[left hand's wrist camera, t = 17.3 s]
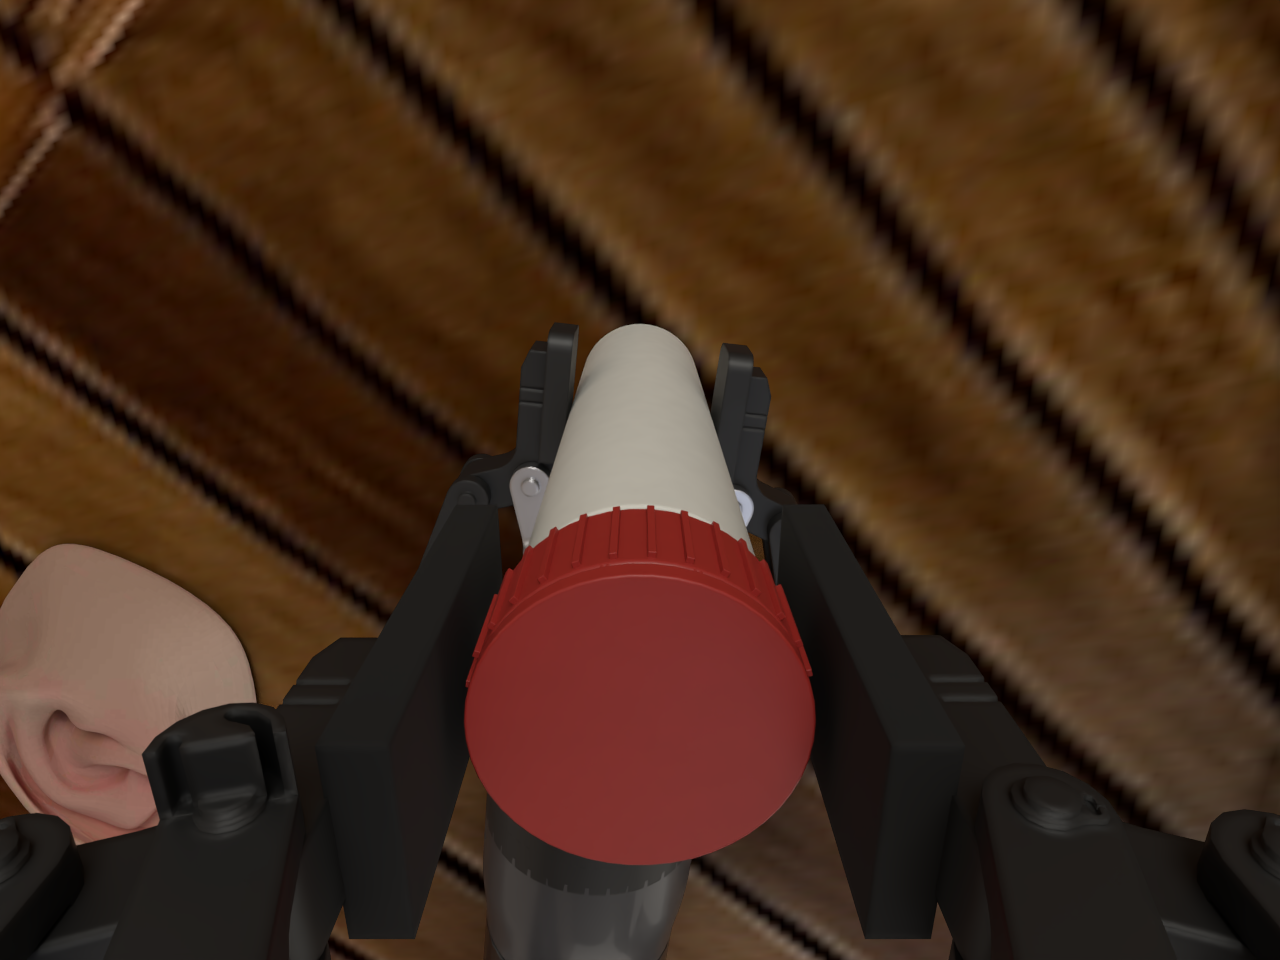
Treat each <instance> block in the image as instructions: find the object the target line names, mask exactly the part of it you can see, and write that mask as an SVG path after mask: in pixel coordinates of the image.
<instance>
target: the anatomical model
mask: <svg viewBox="0 0 1280 960" xmlns="http://www.w3.org/2000/svg"><path fill="white" fill-rule="evenodd" d="M251 702H254V703H257V701H256V695H255V688H254V683H253V678H252V674H251V670H250V665H249V662H248V659H247V657H246V654H245V651H244V649H243V647H242V644H241V643H240V641H239V639H238V637H237V636H236V634H235V633H234V632H233V630H232V629H231V627H230V626H229V625H228V624H227V623H226V622H225V621H224V620H223V619H222V618H221V616H220V615H218V614H217V613H216V612H215V611H214V610H213V609H211V608H210V607H209V606H208V605H207V604H205V603H204V602H202V601H201V600H200V599H198V598H197V597H195V596H194V595H193V594H191V593H190V592H188V591H186V590H185V589H183V588H181V587H180V586H178V585H176V584H175V583H173V582H171V581H170V580H168V579H166V578H164V577H162V576H160V575H158V574H156V573H154V572H152V571H150V570H148V569H146V568H144V567H141V566H139V565H137V564H135V563H132V562H130V561H128V560H126V559H123V558H121V557H118V556H116V555H113V554H110V553H107V552H105V551H102V550H99V549H96V548H93V547H89V546H84V545H78V544H61V545H56V546H53V547H51V548H49V549H47V550H46V551H44V552H43V553H41V554H40V555H39V556H38V557H37V558H36V559H35V560H34V561H33V562H32V563H31V564H30V565H29V566H28V567H27V568H26V570H25V571H24V573H23V574H22V575H21V577H20V578H19V580H18V581H17V583H16V584H15V585H14V587H13V588H12V590H11V591H10V592H9V594H8V595H7V597H6V599H5V600H4V603H3V605H2V607H1V609H0V774H1V776H2V777H3V778H4V780H5V781H6V783H7V784H8V786H9V787H10V788H11V790H12V791H13V792H14V794H15V795H16V796H17V798H18V799H19V800H20V802H21V803H22V804H23V805H24V807H25V808H26V809H27V810H28V811H29V812H30V813H42V814H49V815H55V816H59V817H60V818H61V819H62V820H63V821H64V822H66V823H67V824H68V825H69V826H70V828H71V831H72V834H73V837H74V840H75V843H76V845H80V844H84V843H88V842H93V841H97V840H101V839H106V838H110V837H114V836H119V835H123V834H127V833H132V832H136V831H140V830H143V829H147V828H150V827H153V826H157V825H158V823H159V820H160V819H159V816H158V812H157V808H156V805H155V801H154V798H153V794H152V790H151V787H150V783H149V780H148V776H147V772H146V769H145V765H144V762H143V758H142V753H143V752H144V751H145V749H146V748H147V747H148V745H149V744H150V743H151V742H152V740H153V739H154V738H155V737H156V736H157V735H159V734H160V733H161V732H163V731H164V730H166V729H167V728H168V727H170V726H171V725H173V724H174V723H175V722H177V721H179V720H181V719H184V718H186V717H188V716H190V715H193V714H195V713H197V712H199V711H201V710H205V709H209V708H213V707H217V706H221V705H225V704H229V703H251Z"/></svg>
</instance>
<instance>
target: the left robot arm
mask: <svg viewBox="0 0 1280 960" xmlns="http://www.w3.org/2000/svg"><path fill="white" fill-rule="evenodd" d="M502 582H503V578H502V564H501V550H500V535H499V521H498V506H497V505H455V507H454V509H453V510H452V512H451V514H450V516H449V517H448V519H447V521H446V522H445V524H444V526H443V528H442V529H441V531H440V533H439V534H438V536H437V538H436V540H435V541H434V543H433V545H432V546H431V548H430V550H429V551H428V553H427V555H426V557H425V558H424V560H423V562H422V563H421V565H420V567H419V569H418V570H417V572H416V574H415V575H414V577H413V579H412V581H411V582H410V584H409V586H408V587H407V589H406V591H405V593H404V594H403V596H402V598H401V599H400V601H399V603H398V604H397V606H396V608H395V610H394V611H393V613H392V615H391V616H390V618H389V620H388V622H387V623H386V625H385V627H384V628H383V630H382V632H381V634H380V635H379V637H378V638H339V639H338V640H336V641H335V642H334V643H332V644H331V645H329V646H328V647H327V648H325V649H324V650H322V651H321V652H320V653H318V654H317V655H315V656H314V657H313V658H312V659H311V660H310V662H309V663H308V665H307V666H306V668H305V669H304V670H303V672H302V673H301V675H300V676H299V678H298V679H297V683H296V685H293V686H292V688H291V689H290V690H289V692H288V693H287V695H286V696H285V698H284V699H283V704H282V705H279V706H278V708H277V709H275V708H273V707H271V706H267V705H262V704H258V703H254V702H251V703H229V704H225V705H221V706H217V707H213V708H209V709H205V710H201V711H199V712H197V713H195V714H193V715H190V716H188V717H186V718H184V719H181V720H179V721H177V722H175V723H174V724H173V725H171V726H170V727H168V728H167V729H166V730H164V731H163V732H161V733H160V734H159V735H157V736H156V737H155V738H154V739H153V740H152V742H151V743H150V744H149V745H148V747H147V748H146V749H145V751H144V752H143V753H142V758H143V762H144V765H145V769H146V772H147V776H148V780H149V783H150V787H151V790H152V794H153V798H154V801H155V805H156V808H157V812H158V816H159V819H160V820H159V823H158V825H157V826H153V827H150V828H147V829H143V830H140V831H136V832H132V833H127V834H123V835H119V836H114V837H110V838H106V839H101V840H97V841H93V842H88V843H84V844H80V845H76V843H75V840H74V837H73V834H72V831H71V828H70V826H69V825H68V824H67V823H66V822H64V821H63V820H62V819H61V818H60V817H59V816H55V815H49V814H42V813H31V814H24V815H17V816H10V817H6V818H3V819H0V960H331V956H330V950H329V945H328V939H329V937H330V934H331V932H332V929H333V927H334V925H335V922H336V920H337V917H338V915H339V913H340V910H341V908H342V905H343V907H344V912H345V918H346V924H347V929H348V935H349V939H415V937H416V933H417V930H418V927H419V923H420V920H421V917H422V913H423V910H424V907H425V903H426V900H427V897H428V893H429V890H430V887H431V883H432V880H433V877H434V873H435V870H436V867H437V863H438V860H439V857H440V853H441V850H442V847H443V843H444V840H445V837H446V833H447V830H448V827H449V823H450V820H451V817H452V813H453V810H454V807H455V803H456V800H457V797H458V793H459V790H460V787H461V784H462V780H463V777H464V774H465V770H466V767H467V764H468V760H469V757H470V755H469V751H468V747H467V743H466V739H465V728H464V709H465V699H466V695H467V690H468V687H466V680H467V677H468V674H469V671H470V668H471V666H472V663H473V660H474V657H472V655H473V652H474V649H475V646H476V644H477V641H478V638H479V635H480V632H481V630H482V627H483V624H484V621H485V619H486V616H487V613H488V610H489V608H490V605H491V602H492V599H493V597H494V594H497V595H498V593H499V590H500V587H501V584H502ZM779 584H781V586H782V588H783V590H784V593H785V595H786V598H787V601H788V604H789V607H790V609H791V612H792V615H793V618H794V620H795V623H796V626H797V629H798V632H799V634H800V637H801V640H802V643H803V647H804V650H805V652H806V655H807V658H808V661H809V664H810V666H811V669H812V674H813V676H809V680H810V683H811V687H812V691H813V696H814V700H815V713H816V726H815V736H814V742H813V746H812V750H811V754H810V757H811V760H812V764H813V767H814V770H815V774H816V777H817V780H818V784H819V787H820V790H821V794H822V797H823V800H824V803H825V807H826V810H827V813H828V817H829V820H830V823H831V827H832V830H833V833H834V837H835V840H836V843H837V847H838V850H839V853H840V857H841V860H842V863H843V867H844V870H845V873H846V877H847V880H848V883H849V887H850V890H851V893H852V897H853V900H854V903H855V907H856V910H857V913H858V917H859V920H860V923H861V927H862V930H863V933H864V937H865V939H931V935H932V929H933V923H934V918H935V912H936V907H937V902H938V904H939V906H940V909H941V911H942V914H943V916H944V918H945V921H946V923H947V925H948V928H949V930H950V933H951V935H952V937H953V940H952V945H951V950H950V956H949V960H1280V816H1279V815H1276V814H1273V813H1266V812H1260V811H1253V810H1246V809H1244V810H1237V811H1230V812H1224V813H1222V814H1221V815H1220V816H1219V817H1217V818H1216V819H1215V820H1214V821H1213V822H1212V823H1211V825H1210V828H1209V831H1208V834H1207V837H1206V840H1205V842H1202V841H1198V840H1193V839H1189V838H1184V837H1180V836H1176V835H1171V834H1167V833H1163V832H1158V831H1154V830H1150V829H1145V828H1141V827H1138V826H1135V825H1131V824H1128V823H1125V822H1122V821H1121V819H1120V818H1119V816H1118V815H1117V813H1116V812H1115V810H1114V809H1113V807H1112V806H1111V804H1110V803H1109V801H1108V800H1107V799H1106V798H1104V797H1103V796H1102V795H1101V794H1099V793H1098V792H1097V791H1096V790H1095V789H1093V788H1092V787H1091V786H1090V785H1088V784H1087V783H1085V782H1083V781H1081V780H1079V779H1077V778H1075V777H1073V776H1071V775H1069V774H1067V773H1065V772H1063V771H1060V770H1056V769H1053V768H1049V767H1046V765H1045V764H1044V762H1043V761H1042V760H1041V758H1040V757H1039V755H1038V754H1037V752H1036V751H1035V750H1034V748H1033V747H1032V745H1031V744H1030V742H1029V741H1028V740H1027V738H1026V737H1025V735H1024V734H1023V733H1022V731H1021V730H1020V728H1019V727H1018V725H1017V724H1016V723H1015V721H1014V720H1013V718H1012V717H1011V716H1010V714H1009V713H1008V711H1007V710H1006V708H1005V707H1004V706H1003V704H1002V703H1001V702H998V700H997V696H996V694H995V693H994V691H993V690H992V689H991V687H990V686H989V684H988V683H987V682H984V677H983V676H982V674H981V673H980V672H979V670H978V669H977V667H976V666H975V664H974V663H973V662H972V660H971V659H970V657H969V656H968V655H967V654H966V653H964V652H963V651H962V650H960V649H959V648H957V647H956V646H954V645H953V644H952V643H950V642H949V641H947V640H946V639H945V638H943V637H942V636H940V635H900V634H899V632H898V630H897V628H896V627H895V625H894V623H893V622H892V620H891V618H890V616H889V615H888V613H887V611H886V610H885V608H884V606H883V605H882V603H881V601H880V599H879V598H878V596H877V594H876V593H875V591H874V589H873V587H872V586H871V584H870V582H869V581H868V579H867V577H866V575H865V574H864V572H863V570H862V569H861V567H860V565H859V563H858V562H857V560H856V558H855V557H854V555H853V553H852V551H851V550H850V548H849V546H848V545H847V543H846V541H845V540H844V538H843V536H842V534H841V533H840V531H839V529H838V528H837V526H836V524H835V522H834V521H833V519H832V517H831V516H830V514H829V512H828V510H827V509H826V507H825V505H783V506H782V521H781V535H780V549H779V564H778V578H777V585H779Z"/></svg>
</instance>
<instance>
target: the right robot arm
mask: <svg viewBox="0 0 1280 960" xmlns="http://www.w3.org/2000/svg"><path fill="white" fill-rule="evenodd" d="M578 332H579V325H573V324H564V323H556V322H555V323H554V324H553V326H552V327H551V329H550V331H549V336H548V342H543V341H536V342H535V343H534V345H533V346H532V348H531V349H530V351H529V353H528V355H527V357H526V359H525V361H524V363H523V365H522V367H521V381H520V396H519V412H518V428H517V443H516V448H515V449H513V450H512V451H510V452H508V453H505V454H500V455H496V456H490V455H487V454H476V455H474V456H472V457H470V458H469V459H468V461H467V462H466V463H465V465H464V467H463V469H462V471H461V474H460V476H459V477H458V479H456V480H455V481H454V482H453V484H452V485H451V487H450V489H449V490H448V492H447V495H446V498H445V500H444V503H443V505H442V508H441V511H440V513H439V516H438V519H437V521H436V524H435V527H434V529H433V532H432V535H431V537H430V540H429V542H428V545H427V548H426V550H425V553H424V556H423V558H422V561H421V563H422V562H423V560H424V558H425V557H426V555H427V553H428V551H429V550H430V548H431V546H432V545H433V543H434V541H435V540H436V538H437V536H438V534H439V533H440V531H441V529H442V528H443V526H444V524H445V522H446V521H447V519H448V517H449V516H450V514H451V512H452V510H453V509H454V507H455V505H497V506H498V508H503V507H507V506H512V505H514V508H515V512H516V516H517V520H518V524H519V528H520V532H521V536H522V540H523V554H524V551H525V549H526V548H527V547H528V544H529V541H530V538H531V534H532V531H533V528H534V525H535V522H536V519H537V515H538V512H539V509H540V506H541V503H542V500H543V496H544V493H545V490H546V487H547V484H548V480H549V477H550V474H551V471H552V468H553V465H554V461H555V458H556V455H557V452H558V449H559V446H560V442H561V439H562V436H563V433H564V430H565V426H566V423H567V420H568V417H569V414H570V411H571V407H572V401H573V390H574V379H575V367H576V356H577V345H578ZM770 400H771V394H770V389H769V385H768V380H767V377H766V376H765V374H764V373H763V371H762V370H761V369H760V367H753V354H752V353H751V351H750V350H749V348H748V347H747V346H745V345H736V344H728V343H723V344H722V347H721V351H720V356H719V363H718V369H717V376H716V382H715V388H714V395H713V401H712V408H711V418H712V421H713V424H714V427H715V430H716V434H717V437H718V440H719V443H720V446H721V449H722V453H723V456H724V459H725V462H726V465H727V468H728V472H729V475H730V478H731V481H732V484H733V488H734V491H735V494H736V497H737V500H738V503H739V507H740V510H741V513H742V516H743V519H744V523H745V526H746V529H747V532H749V533H751V534H753V535H755V536H757V537H760V538H762V542H763V550H764V557H765V561H766V562H767V563H768V566H769V569H770V572H771V575H772V578H773V581H774V584H775V585H776V586H777V578H778V564H779V549H780V535H781V521H782V506H783V505H797V503H796V501H795V499H794V497H793V495H792V494H791V493H790V492H789V491H788V490H786V489H783V488H773V487H771V486H769V485H766V484H764V483H762V482H761V481H759V480H758V479H757V471H758V465H759V460H760V454H761V449H762V443H763V438H764V431H765V427H766V421H767V415H768V410H769V405H770ZM420 565H421V564H420ZM419 567H420V566H419ZM690 864H691V859H689V860H684V861H679V862H674V863H667V864H657V865H623V864H613V863H606V862H601V861H596V860H591V859H587V858H583V857H580V856H577V855H574V854H571V853H568V852H565V851H563V850H561V849H558V848H556V847H554V846H551V845H549V844H547V843H546V842H544V841H542V840H540V839H539V838H537V837H535V836H533V835H532V834H530V833H529V832H527V831H526V830H525V829H523V828H522V827H521V826H519V825H518V824H517V823H515V822H514V821H513V820H512V819H511V818H510V817H509V816H508V815H507V814H506V813H505V812H504V811H503V810H501V809H500V807H499V806H498V805H497V804H496V802H495V801H494V800H493V799H492V798H491V796H490V795H489V794H488V792H487V803H486V820H485V837H484V855H483V875H484V885H485V894H486V901H487V915H486V930H485V945H484V960H666V956H667V951H668V945H669V940H670V934H671V929H672V926H673V923H674V920H675V918H676V915H677V913H678V911H679V908H680V905H681V902H682V899H683V895H684V892H685V888H686V884H687V880H688V875H689V869H690Z"/></svg>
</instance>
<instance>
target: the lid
mask: <svg viewBox="0 0 1280 960" xmlns="http://www.w3.org/2000/svg"><path fill="white" fill-rule="evenodd" d="M472 657H474V660H473V663H472V666H471V668H470V671H469V674H468V677H467V680H466V687H468V690H467V695H466V699H465V709H464V728H465V739H466V743H467V747H468V751H469V755H470V759H471V761H472V764H473V766H474V768H475V771H476V773H477V775H478V777H479V779H480V781H481V782H482V784H483V786H484V787H485V789H486V791H487V792H488V794H489V795H490V796H491V798H492V799H493V800H494V801H495V802H496V804H497V805H498V806H499V807H500V809H501V810H503V811H504V812H505V813H506V814H507V815H508V816H509V817H510V818H511V819H512V820H513V821H514V822H515V823H517V824H518V825H519V826H521V827H522V828H523V829H525V830H526V831H527V832H529V833H530V834H532V835H533V836H535V837H537V838H539V839H540V840H542V841H544V842H546V843H547V844H549V845H551V846H554V847H556V848H558V849H561V850H563V851H565V852H568V853H571V854H574V855H577V856H580V857H583V858H587V859H591V860H596V861H601V862H606V863H613V864H623V865H657V864H667V863H674V862H679V861H684V860H689V859H693V858H696V857H700V856H703V855H706V854H709V853H712V852H715V851H717V850H719V849H721V848H724V847H726V846H728V845H731V844H732V843H734V842H736V841H738V840H739V839H741V838H743V837H745V836H746V835H748V834H750V833H751V832H752V831H754V830H755V829H756V828H758V827H759V826H760V825H762V824H763V823H765V822H766V821H767V820H768V819H769V818H770V817H771V816H772V815H773V814H774V813H775V812H776V811H777V810H778V809H779V808H780V807H781V806H782V805H783V803H784V802H785V801H786V800H787V798H788V797H789V796H790V795H791V794H792V792H793V790H794V789H795V787H796V785H797V784H798V782H799V780H800V779H801V777H802V775H803V772H804V770H805V768H806V765H807V763H808V761H809V758H810V754H811V750H812V746H813V742H814V736H815V726H816V713H815V700H814V696H813V691H812V687H811V683H810V680H809V676H813V674H812V669H811V666H810V664H809V661H808V658H807V655H806V652H805V650H804V647H803V643H802V640H801V637H800V634H799V632H798V629H797V626H796V623H795V620H794V618H793V615H792V612H791V609H790V607H789V604H788V601H787V598H786V595H785V593H784V590H783V588H782V586H781V584H779V585H777V586H776V585H775V584H774V581H773V578H772V575H771V572H770V569H769V566H768V563H767V562H766V561H765V560H764V559H763V560H762V561H759V560H758V559H757V558H756V557H755V556H754V555H753V554H752V553H751V552H750V551H749V550H748V546H747V543H746V541H745V540H743V539H742V538H740V539H739V540H738V541H737V540H736V539H734V538H733V537H732V536H730V535H729V534H727V533H726V532H724V531H722V530H720V526H719V524H718V523H716V522H714V521H713V522H712V523H711V524H709V523H706V522H704V521H701V520H699V519H696V518H693V517H691V516H689V515H688V511H684V510H681V512H680V514H679V513H675V512H670V511H662V510H655V507H654V505H647V509H626V510H621V509H620V506H617V507H613V511H609V512H605V513H601V514H597V515H593V516H589V517H588V515H587V513H585V514H583V515H580V518H579V521H576V522H573V523H571V524H569V525H567V526H565V527H563V528H561V529H560V530H558V529H557V527H554V528H552V529H551V530H550V533H549V536H548V537H547V538H545V539H544V540H543V541H541V542H540V543H538V544H537V545H536V546H535V547H534V548H532V547H531V546H530V545H529V546H528V547H527V548H526V549H525V551H524V554H523V557H522V560H521V561H520V562H519V564H518V565H517V566H516V568H515V569H514V570H512V569H510V568H509V569H508V570H507V571H506V573H505V576H504V579H503V582H502V584H501V587H500V590H499V593H498V595H497V594H494V597H493V599H492V602H491V605H490V608H489V610H488V613H487V616H486V619H485V621H484V624H483V627H482V630H481V632H480V635H479V638H478V641H477V644H476V646H475V649H474V652H473V655H472Z"/></svg>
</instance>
